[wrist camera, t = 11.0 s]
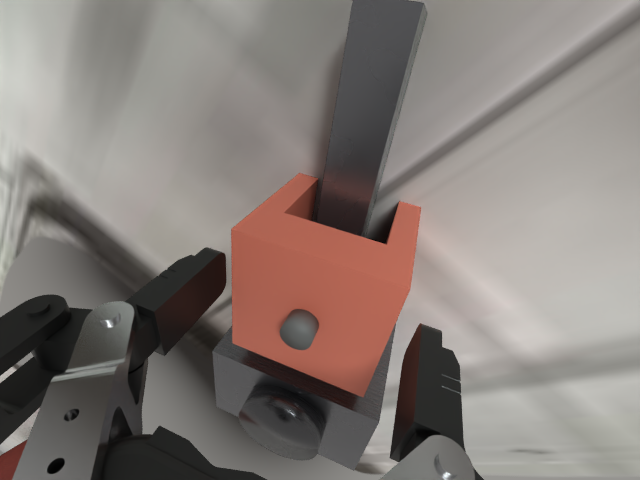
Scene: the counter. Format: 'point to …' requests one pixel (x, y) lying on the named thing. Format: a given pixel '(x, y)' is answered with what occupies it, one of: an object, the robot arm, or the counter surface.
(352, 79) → the coupler
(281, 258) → the notched red block
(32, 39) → the counter surface
